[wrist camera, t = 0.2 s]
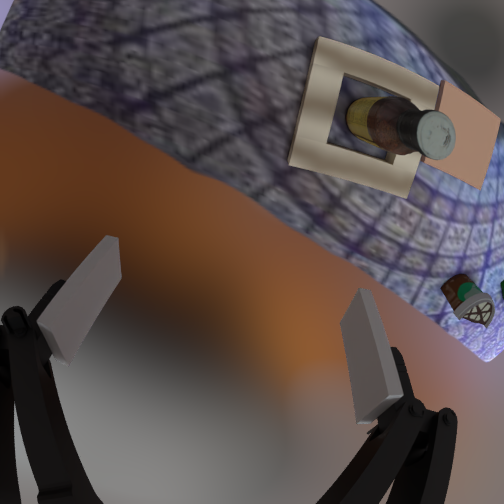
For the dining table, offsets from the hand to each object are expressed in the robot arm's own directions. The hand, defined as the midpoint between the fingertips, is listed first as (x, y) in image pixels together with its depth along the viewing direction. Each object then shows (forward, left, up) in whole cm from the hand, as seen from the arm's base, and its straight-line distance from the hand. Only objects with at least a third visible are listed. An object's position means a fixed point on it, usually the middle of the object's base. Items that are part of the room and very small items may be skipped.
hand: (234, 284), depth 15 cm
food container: (+11, +46, -28) cm, 55 cm away
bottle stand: (-10, +13, -27) cm, 32 cm away
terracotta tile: (-15, +31, -27) cm, 44 cm away
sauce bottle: (-10, +13, -28) cm, 32 cm away
